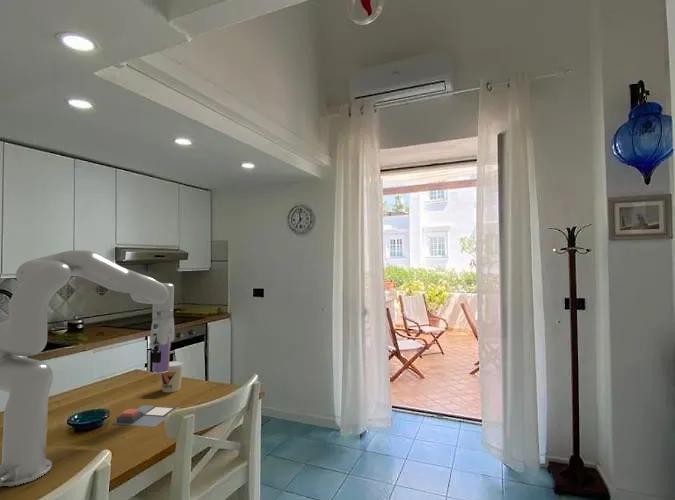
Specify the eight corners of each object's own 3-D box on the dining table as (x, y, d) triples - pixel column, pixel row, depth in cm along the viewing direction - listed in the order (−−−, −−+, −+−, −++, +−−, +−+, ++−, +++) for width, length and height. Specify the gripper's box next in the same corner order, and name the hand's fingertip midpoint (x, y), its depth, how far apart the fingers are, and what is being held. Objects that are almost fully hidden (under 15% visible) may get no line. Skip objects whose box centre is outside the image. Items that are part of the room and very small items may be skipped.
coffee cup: (155, 391, 172) (156, 365, 173) (170, 385, 181) (171, 360, 182) (172, 394, 170) (173, 367, 170) (186, 387, 179) (187, 362, 179)
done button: (131, 419, 138) (132, 413, 138) (121, 418, 138) (121, 413, 138) (138, 414, 142) (139, 409, 142) (128, 414, 142) (128, 408, 142)
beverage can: (162, 374, 145) (163, 335, 145) (148, 373, 146) (150, 334, 147) (172, 370, 151) (173, 332, 151) (159, 368, 152) (160, 331, 152)
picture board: (154, 429, 134) (155, 421, 134) (112, 426, 136) (113, 418, 136) (180, 409, 152) (180, 402, 152) (142, 407, 154) (143, 400, 154)
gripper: (159, 318, 140) (157, 366, 140) (182, 311, 157) (181, 355, 157) (140, 317, 141) (138, 365, 140) (165, 311, 158) (164, 354, 157)
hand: (161, 359), depth 148 cm, fingers closed on beverage can, 6 cm apart
